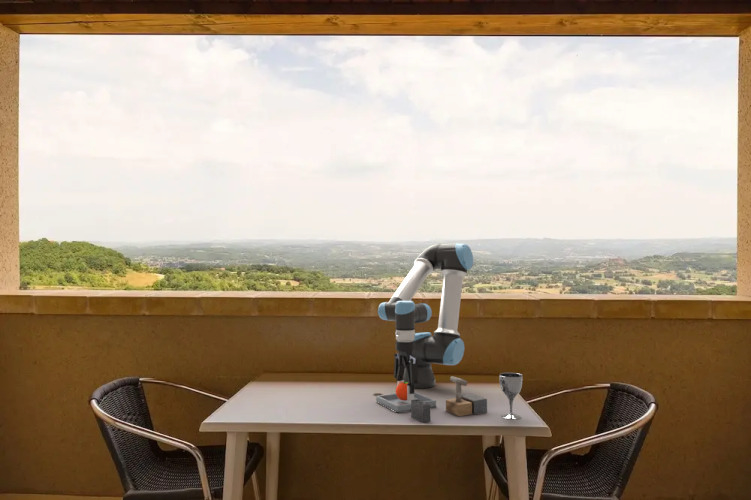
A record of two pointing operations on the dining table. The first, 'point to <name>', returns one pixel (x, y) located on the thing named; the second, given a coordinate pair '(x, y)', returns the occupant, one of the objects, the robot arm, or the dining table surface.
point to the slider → (458, 400)
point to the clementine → (402, 391)
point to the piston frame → (479, 404)
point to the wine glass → (511, 391)
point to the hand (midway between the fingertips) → (405, 399)
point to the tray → (402, 402)
